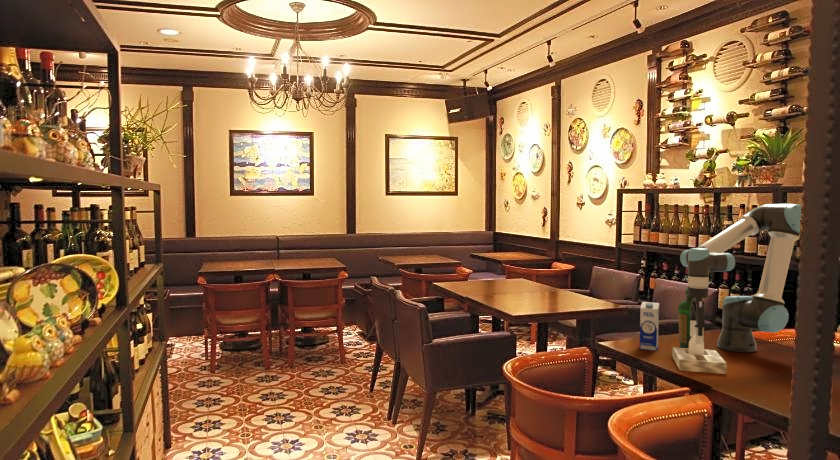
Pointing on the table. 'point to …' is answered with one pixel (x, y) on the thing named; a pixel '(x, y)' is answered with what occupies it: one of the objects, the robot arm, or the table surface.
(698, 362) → the socket board
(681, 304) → the bottle
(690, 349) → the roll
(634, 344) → the table surface
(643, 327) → the milk carton
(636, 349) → the table surface
